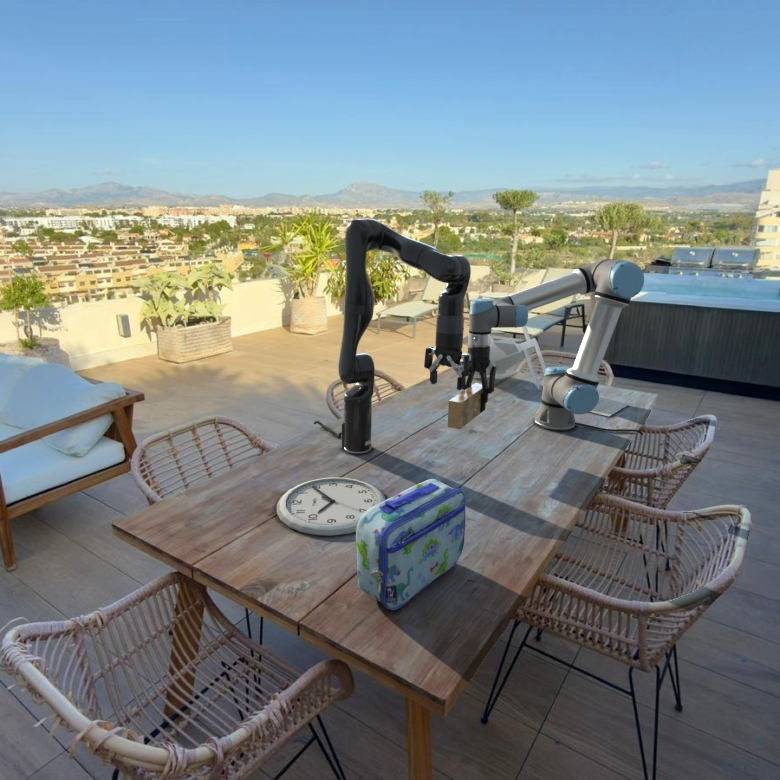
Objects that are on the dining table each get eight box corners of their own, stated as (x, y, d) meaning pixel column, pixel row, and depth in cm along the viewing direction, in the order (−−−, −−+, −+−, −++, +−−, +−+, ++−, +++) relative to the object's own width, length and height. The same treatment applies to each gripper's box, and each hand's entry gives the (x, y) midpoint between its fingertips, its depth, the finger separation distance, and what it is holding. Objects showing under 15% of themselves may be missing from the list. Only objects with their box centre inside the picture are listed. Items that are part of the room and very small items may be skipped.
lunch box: (385, 624, 100) (387, 528, 94) (349, 596, 108) (348, 506, 101) (468, 566, 118) (474, 482, 112) (432, 545, 125) (436, 466, 119)
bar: (474, 407, 190) (475, 383, 187) (485, 409, 187) (487, 384, 185) (447, 427, 171) (448, 400, 168) (460, 429, 169) (461, 402, 166)
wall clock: (392, 527, 129) (268, 531, 127) (391, 533, 130) (269, 537, 127) (383, 473, 158) (282, 475, 155) (383, 478, 158) (282, 480, 156)
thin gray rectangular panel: (608, 416, 214) (573, 407, 224) (608, 416, 214) (573, 408, 224) (628, 404, 229) (594, 396, 238) (628, 405, 229) (594, 397, 238)
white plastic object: (486, 418, 266) (465, 396, 241) (467, 346, 288) (447, 318, 263) (557, 395, 254) (543, 368, 229) (531, 321, 276) (517, 290, 251)
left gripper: (420, 328, 145) (418, 384, 150) (465, 335, 137) (462, 394, 142) (434, 325, 151) (432, 379, 155) (479, 331, 143) (475, 388, 147)
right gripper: (450, 344, 179) (448, 408, 186) (500, 350, 171) (495, 417, 178) (459, 340, 185) (457, 402, 192) (507, 346, 177) (502, 410, 184)
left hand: (446, 386), depth 149 cm, fingers open, 8 cm apart
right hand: (475, 409), depth 185 cm, fingers closed on bar, 4 cm apart
